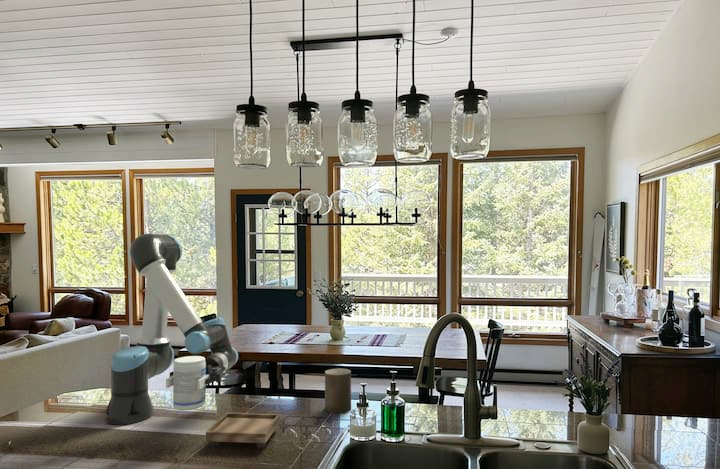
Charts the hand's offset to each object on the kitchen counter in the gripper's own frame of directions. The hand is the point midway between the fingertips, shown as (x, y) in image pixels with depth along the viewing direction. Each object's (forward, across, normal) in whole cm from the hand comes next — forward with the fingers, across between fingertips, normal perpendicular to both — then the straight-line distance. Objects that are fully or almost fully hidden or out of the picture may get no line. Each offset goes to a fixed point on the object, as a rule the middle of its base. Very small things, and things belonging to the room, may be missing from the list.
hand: (182, 384), depth 138 cm
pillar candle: (-33, -43, -17) cm, 57 cm away
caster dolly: (-4, -18, -17) cm, 25 cm away
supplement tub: (-4, 0, -8) cm, 9 cm away
